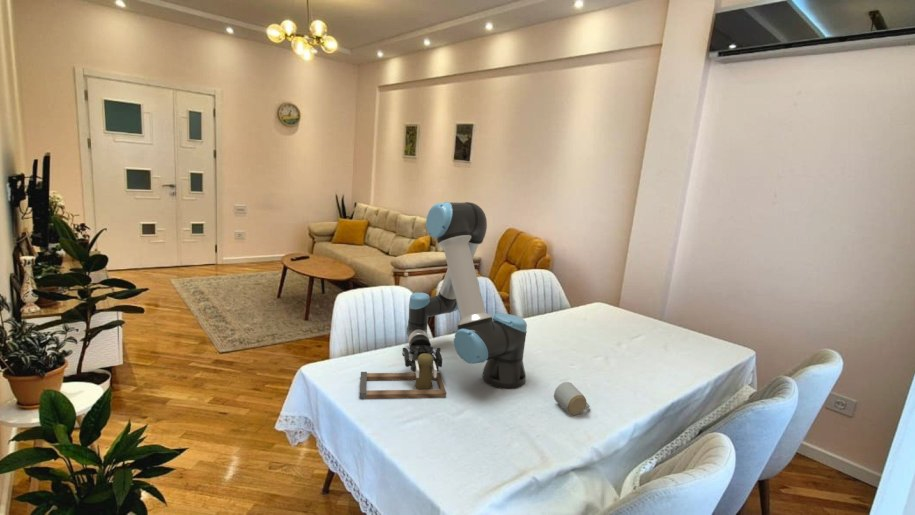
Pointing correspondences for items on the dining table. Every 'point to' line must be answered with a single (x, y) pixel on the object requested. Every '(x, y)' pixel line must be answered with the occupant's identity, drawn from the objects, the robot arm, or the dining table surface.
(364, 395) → the end stop
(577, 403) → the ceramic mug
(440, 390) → the walnut channel
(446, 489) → the dining table surface
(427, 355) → the cork
